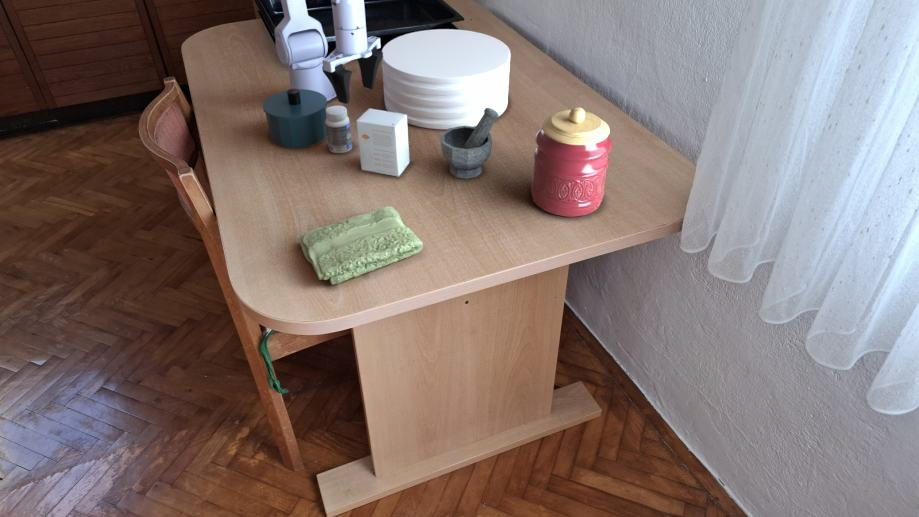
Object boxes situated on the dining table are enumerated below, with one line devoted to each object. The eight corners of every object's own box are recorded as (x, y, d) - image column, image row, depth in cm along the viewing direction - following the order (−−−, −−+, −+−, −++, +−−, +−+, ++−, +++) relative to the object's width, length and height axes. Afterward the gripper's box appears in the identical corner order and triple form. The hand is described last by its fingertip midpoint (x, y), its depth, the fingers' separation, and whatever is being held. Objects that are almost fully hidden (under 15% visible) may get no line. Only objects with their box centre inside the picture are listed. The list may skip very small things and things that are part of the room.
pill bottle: (354, 152, 131) (350, 113, 126) (330, 155, 130) (325, 116, 125) (350, 141, 134) (346, 103, 129) (327, 143, 133) (322, 105, 128)
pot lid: (279, 91, 139) (276, 75, 137) (336, 97, 137) (334, 81, 135) (252, 118, 129) (248, 101, 127) (313, 125, 127) (311, 108, 125)
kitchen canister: (584, 227, 112) (599, 134, 101) (517, 204, 117) (524, 113, 106) (613, 192, 120) (629, 103, 109) (549, 172, 126) (559, 85, 115)
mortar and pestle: (450, 187, 121) (450, 128, 114) (433, 163, 128) (432, 106, 120) (505, 175, 125) (509, 117, 117) (485, 152, 131) (488, 96, 124)
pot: (284, 118, 142) (279, 90, 138) (336, 124, 140) (333, 95, 136) (260, 144, 133) (255, 114, 129) (315, 150, 131) (311, 121, 127)
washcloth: (294, 244, 107) (292, 228, 105) (393, 215, 114) (392, 199, 112) (322, 291, 98) (320, 275, 96) (427, 256, 105) (427, 240, 103)
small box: (410, 163, 128) (408, 113, 121) (398, 177, 124) (396, 127, 117) (372, 156, 130) (368, 107, 123) (360, 170, 126) (355, 120, 119)
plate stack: (482, 70, 164) (484, 23, 156) (526, 119, 143) (530, 68, 136) (372, 83, 156) (369, 36, 149) (402, 137, 136) (399, 85, 129)
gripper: (341, 41, 113) (348, 114, 121) (391, 17, 122) (395, 86, 131) (310, 33, 115) (319, 104, 124) (361, 10, 125) (367, 78, 134)
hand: (356, 94), depth 127 cm, fingers open, 7 cm apart
